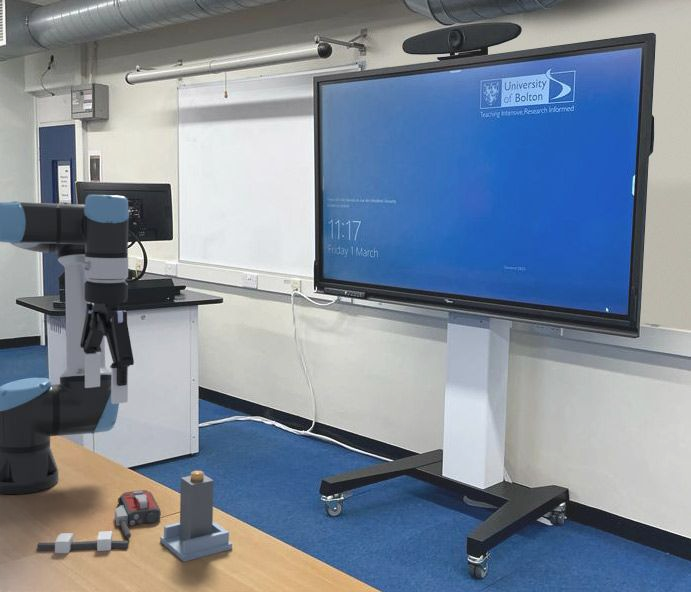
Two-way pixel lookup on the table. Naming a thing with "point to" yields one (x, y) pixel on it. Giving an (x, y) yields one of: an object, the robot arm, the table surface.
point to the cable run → (83, 543)
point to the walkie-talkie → (136, 510)
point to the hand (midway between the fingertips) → (105, 394)
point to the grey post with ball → (196, 506)
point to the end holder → (195, 542)
